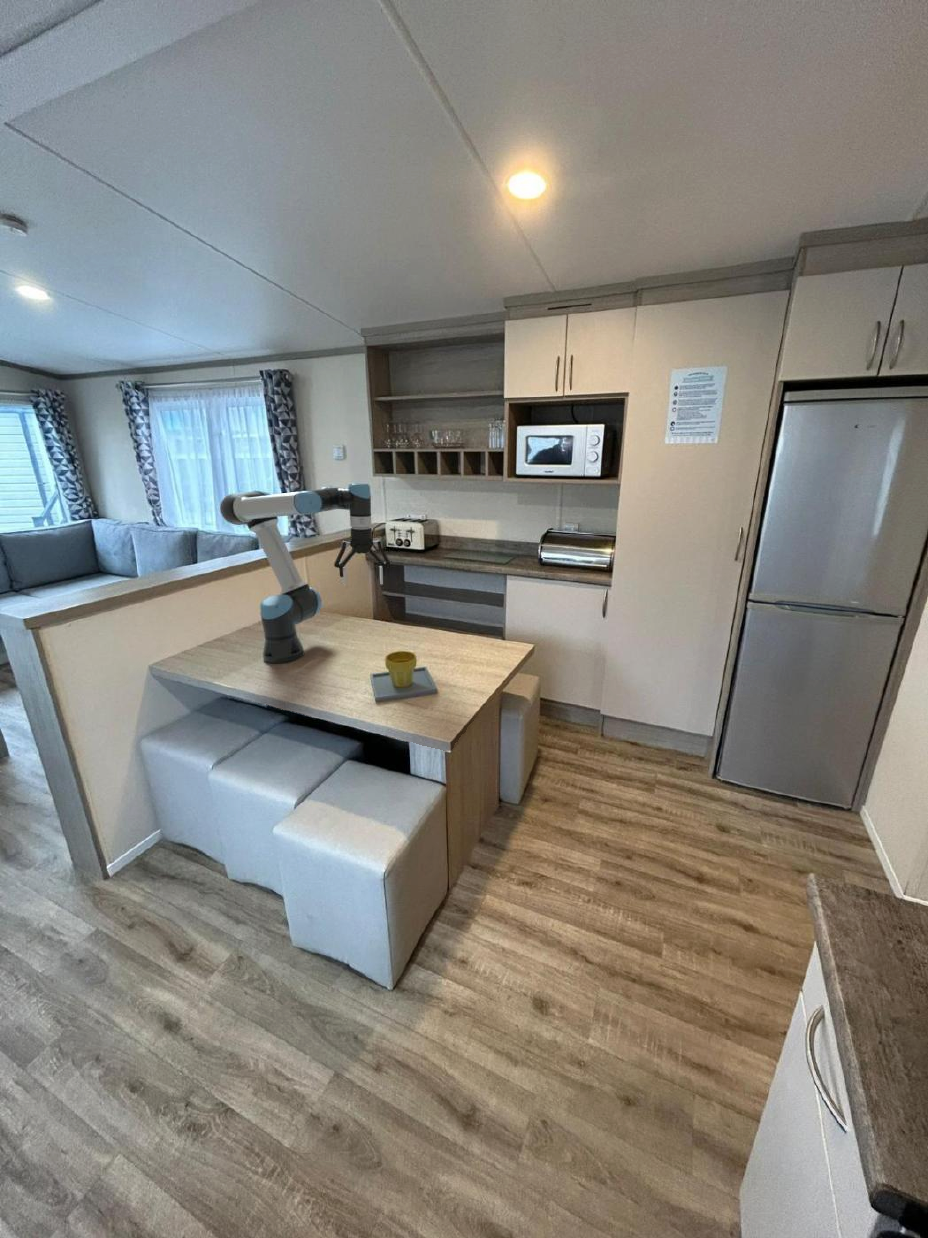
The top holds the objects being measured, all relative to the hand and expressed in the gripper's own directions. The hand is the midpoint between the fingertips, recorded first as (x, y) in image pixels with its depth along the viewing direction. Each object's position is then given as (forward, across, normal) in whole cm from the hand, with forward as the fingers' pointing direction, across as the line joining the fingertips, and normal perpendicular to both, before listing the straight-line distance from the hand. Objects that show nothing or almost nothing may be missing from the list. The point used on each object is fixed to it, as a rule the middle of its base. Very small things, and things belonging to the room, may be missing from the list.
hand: (363, 584), depth 181 cm
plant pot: (+26, +9, -32) cm, 42 cm away
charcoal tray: (+27, +9, -32) cm, 43 cm away
